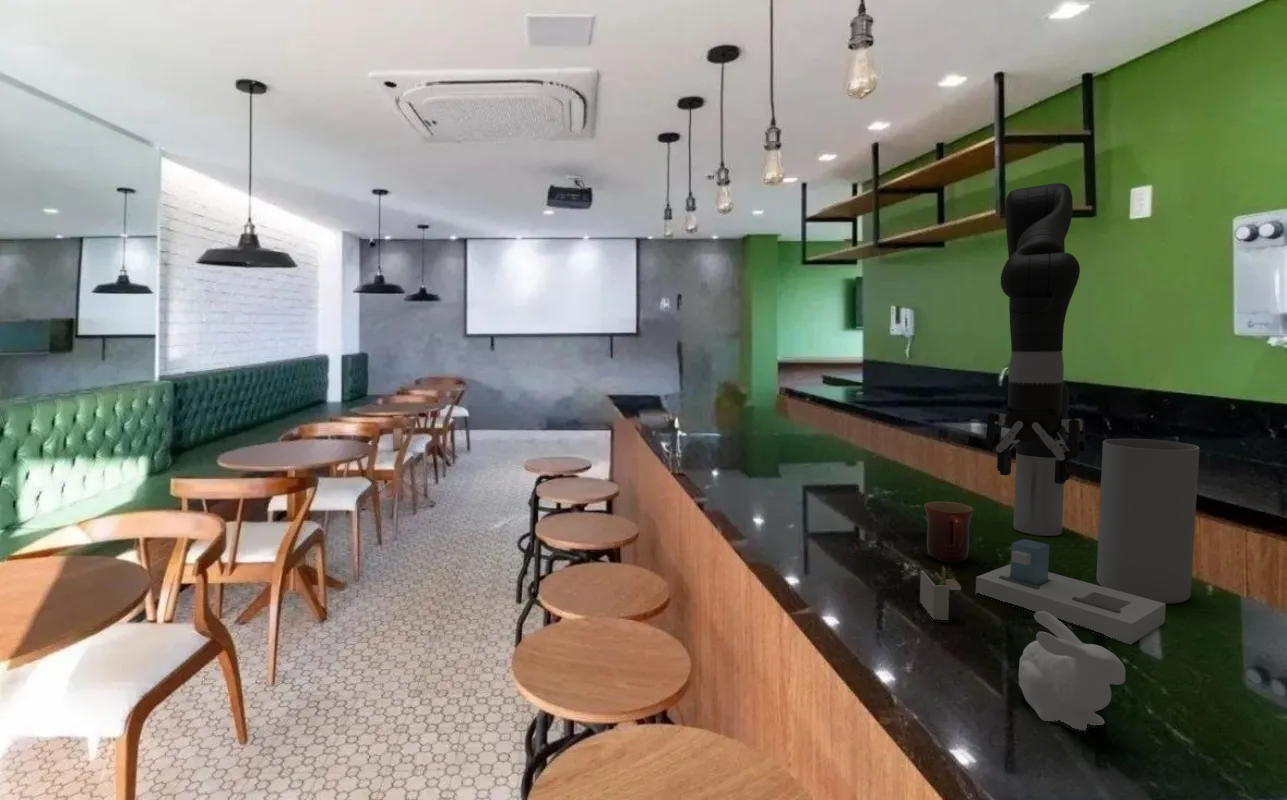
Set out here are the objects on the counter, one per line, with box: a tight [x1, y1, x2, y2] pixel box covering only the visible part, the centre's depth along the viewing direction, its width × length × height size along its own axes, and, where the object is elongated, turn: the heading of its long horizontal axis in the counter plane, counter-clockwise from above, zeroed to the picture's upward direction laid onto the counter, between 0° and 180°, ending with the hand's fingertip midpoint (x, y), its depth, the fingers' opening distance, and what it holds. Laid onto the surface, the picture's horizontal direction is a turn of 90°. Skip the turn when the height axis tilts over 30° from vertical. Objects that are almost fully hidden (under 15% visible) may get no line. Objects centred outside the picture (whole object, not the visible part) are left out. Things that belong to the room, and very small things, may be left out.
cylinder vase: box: [1096, 438, 1200, 605], centre depth 106 cm, size 12×12×25 cm
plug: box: [1010, 538, 1050, 586], centre depth 105 cm, size 5×4×9 cm
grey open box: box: [919, 565, 962, 621], centre depth 100 cm, size 4×7×8 cm, turn 172°
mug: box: [923, 501, 975, 562], centre depth 123 cm, size 12×9×10 cm
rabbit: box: [1018, 611, 1126, 731], centre depth 73 cm, size 12×9×12 cm
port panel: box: [975, 563, 1167, 645], centre depth 101 cm, size 12×22×3 cm, turn 33°
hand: (1031, 478), depth 104 cm, fingers open, 8 cm apart
